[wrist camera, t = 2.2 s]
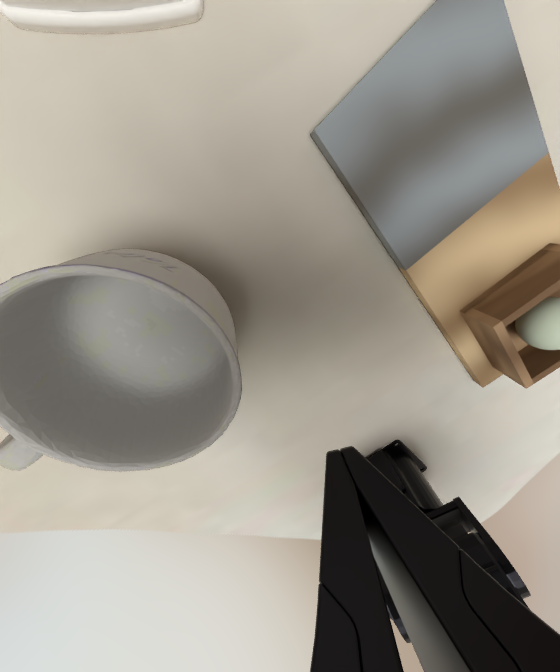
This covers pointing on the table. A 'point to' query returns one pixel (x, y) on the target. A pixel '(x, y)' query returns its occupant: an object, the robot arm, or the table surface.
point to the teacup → (115, 363)
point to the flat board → (449, 162)
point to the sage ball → (541, 325)
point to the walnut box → (509, 304)
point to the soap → (100, 15)
